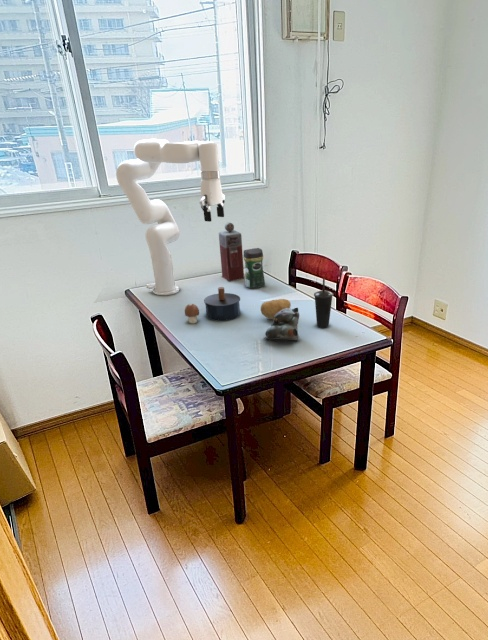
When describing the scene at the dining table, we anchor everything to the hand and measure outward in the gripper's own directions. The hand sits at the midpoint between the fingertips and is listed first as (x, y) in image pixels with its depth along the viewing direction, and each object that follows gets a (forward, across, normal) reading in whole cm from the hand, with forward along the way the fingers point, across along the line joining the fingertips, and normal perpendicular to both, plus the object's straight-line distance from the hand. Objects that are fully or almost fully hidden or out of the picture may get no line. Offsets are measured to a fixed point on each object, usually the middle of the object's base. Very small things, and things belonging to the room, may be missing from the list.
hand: (214, 219), depth 212 cm
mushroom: (+37, +26, +2) cm, 45 cm away
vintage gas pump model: (+37, -32, -14) cm, 51 cm away
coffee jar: (+37, -25, +3) cm, 45 cm away
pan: (+37, +14, +10) cm, 41 cm away
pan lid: (+31, +14, +10) cm, 35 cm away
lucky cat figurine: (+37, +26, +45) cm, 64 cm away
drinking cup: (+38, +8, +54) cm, 66 cm away
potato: (+37, +8, +33) cm, 50 cm away
